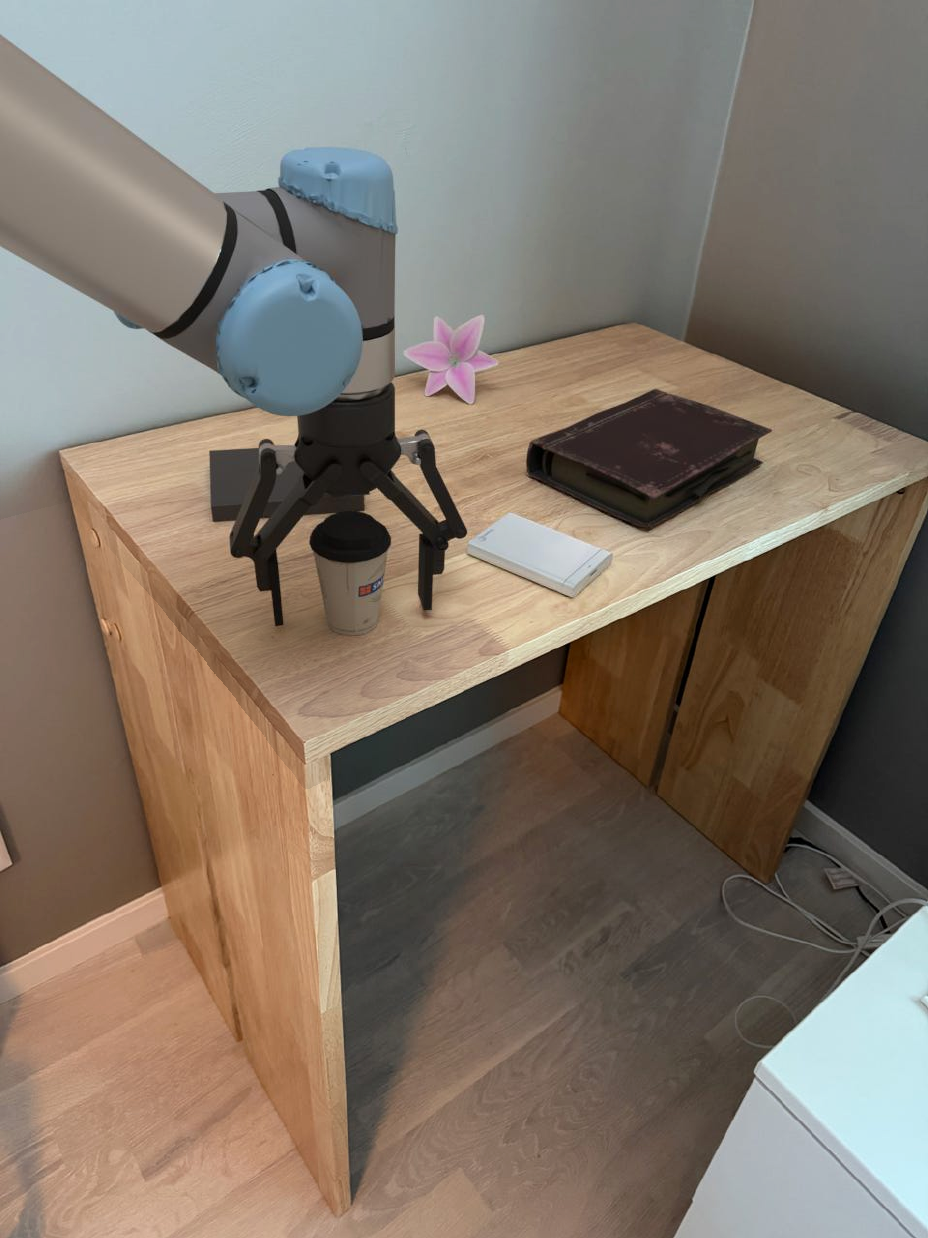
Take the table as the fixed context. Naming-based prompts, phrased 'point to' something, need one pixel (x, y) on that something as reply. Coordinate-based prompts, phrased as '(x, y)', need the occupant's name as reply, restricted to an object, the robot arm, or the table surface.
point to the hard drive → (540, 554)
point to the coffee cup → (351, 569)
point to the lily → (453, 357)
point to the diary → (647, 456)
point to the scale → (234, 480)
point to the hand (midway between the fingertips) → (352, 609)
